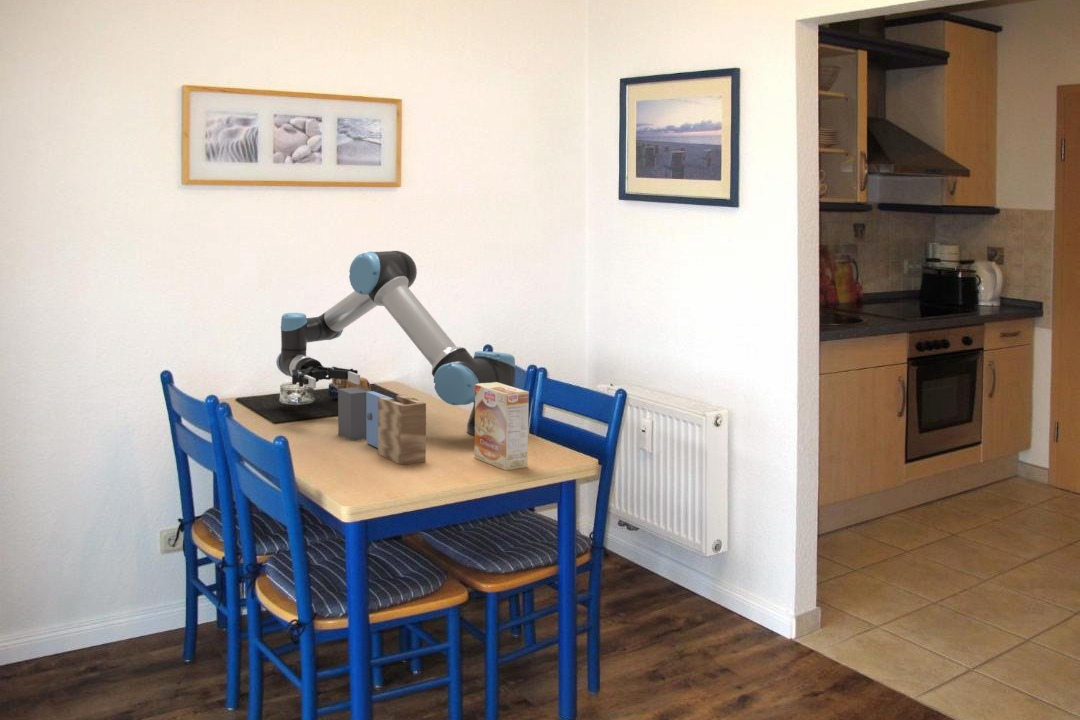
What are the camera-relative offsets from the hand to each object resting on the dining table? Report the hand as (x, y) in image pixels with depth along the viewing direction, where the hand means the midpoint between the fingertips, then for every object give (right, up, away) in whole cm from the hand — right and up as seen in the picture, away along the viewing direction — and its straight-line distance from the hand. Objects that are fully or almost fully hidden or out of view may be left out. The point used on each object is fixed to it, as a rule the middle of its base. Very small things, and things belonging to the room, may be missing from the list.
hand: (337, 381), depth 307 cm
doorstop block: (+6, -15, -6) cm, 17 cm away
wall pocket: (+21, -19, -28) cm, 40 cm away
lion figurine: (-4, -7, +47) cm, 47 cm away
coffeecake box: (+47, -20, -31) cm, 60 cm away
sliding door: (+15, -17, -19) cm, 29 cm away
